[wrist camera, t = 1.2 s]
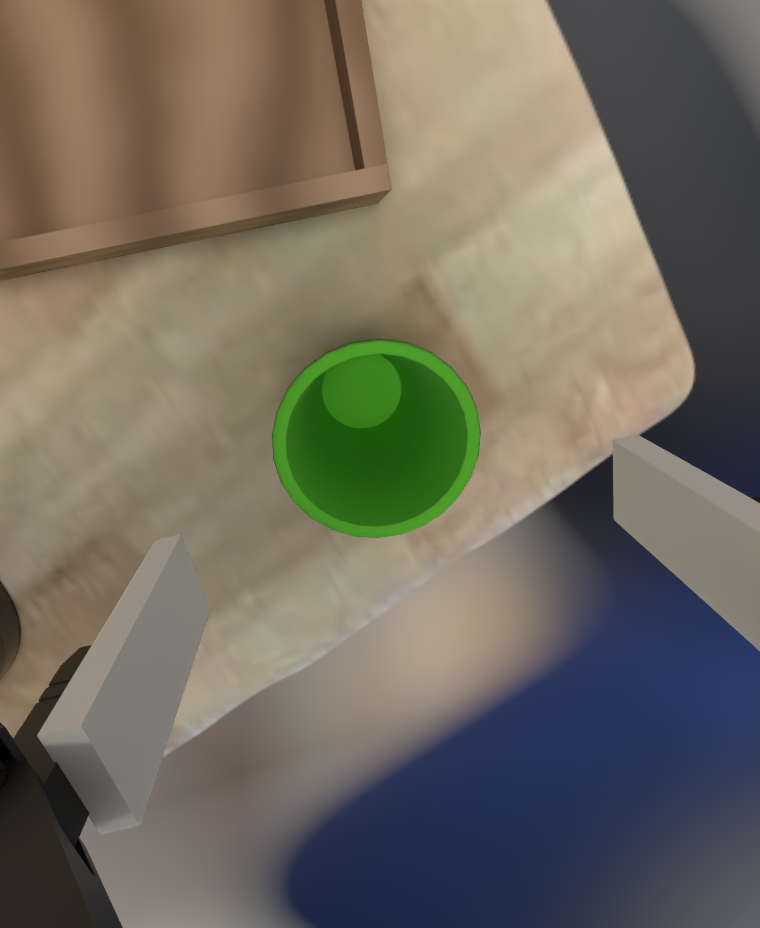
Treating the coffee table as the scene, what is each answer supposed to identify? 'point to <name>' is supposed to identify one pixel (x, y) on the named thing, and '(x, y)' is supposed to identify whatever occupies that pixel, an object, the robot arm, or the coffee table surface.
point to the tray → (178, 123)
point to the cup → (376, 438)
